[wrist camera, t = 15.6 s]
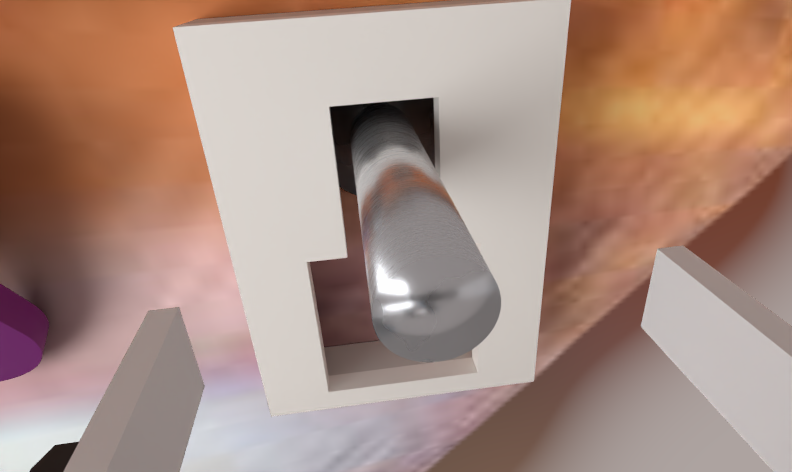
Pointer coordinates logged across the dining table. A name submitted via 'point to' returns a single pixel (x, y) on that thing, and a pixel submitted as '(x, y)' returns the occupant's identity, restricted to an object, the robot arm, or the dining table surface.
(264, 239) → the keyhole plate
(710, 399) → the robot arm
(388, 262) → the headed peg
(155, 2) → the dining table surface
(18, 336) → the mounting bracket
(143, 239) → the dining table surface
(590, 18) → the dining table surface
